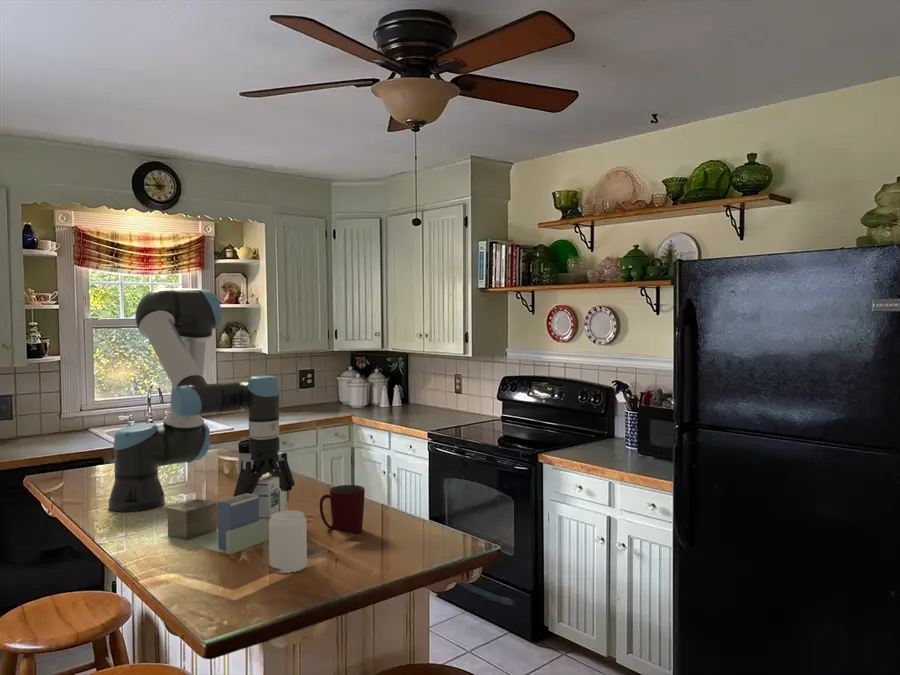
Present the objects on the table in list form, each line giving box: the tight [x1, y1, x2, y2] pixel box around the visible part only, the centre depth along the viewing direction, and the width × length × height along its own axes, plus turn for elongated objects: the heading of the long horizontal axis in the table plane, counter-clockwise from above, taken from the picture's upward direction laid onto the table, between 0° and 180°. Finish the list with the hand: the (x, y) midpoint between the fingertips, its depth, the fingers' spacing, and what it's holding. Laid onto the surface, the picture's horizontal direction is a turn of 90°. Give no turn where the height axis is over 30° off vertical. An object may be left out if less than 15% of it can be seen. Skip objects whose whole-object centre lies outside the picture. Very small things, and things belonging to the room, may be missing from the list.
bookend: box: [166, 499, 217, 540], centre depth 176 cm, size 7×9×7 cm
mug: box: [319, 484, 366, 535], centre depth 181 cm, size 12×9×11 cm
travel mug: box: [237, 438, 256, 475], centre depth 203 cm, size 6×7×20 cm
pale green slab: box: [160, 518, 269, 555], centre depth 172 cm, size 24×12×6 cm, turn 59°
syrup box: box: [252, 475, 281, 534], centre depth 179 cm, size 6×6×14 cm
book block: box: [217, 493, 259, 550], centre depth 167 cm, size 4×9×11 cm, turn 149°
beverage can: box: [268, 510, 308, 574], centre depth 155 cm, size 8×8×12 cm
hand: (265, 521), depth 180 cm, fingers open, 12 cm apart
